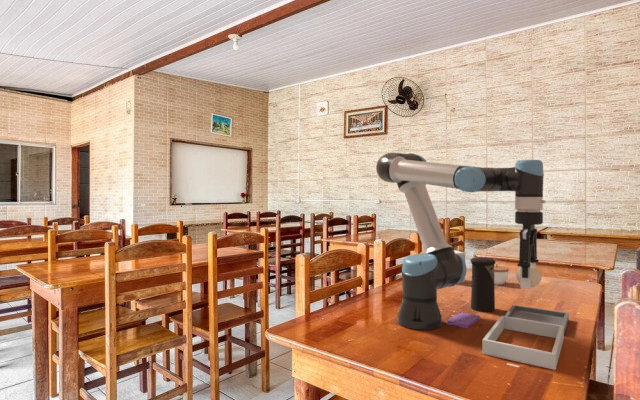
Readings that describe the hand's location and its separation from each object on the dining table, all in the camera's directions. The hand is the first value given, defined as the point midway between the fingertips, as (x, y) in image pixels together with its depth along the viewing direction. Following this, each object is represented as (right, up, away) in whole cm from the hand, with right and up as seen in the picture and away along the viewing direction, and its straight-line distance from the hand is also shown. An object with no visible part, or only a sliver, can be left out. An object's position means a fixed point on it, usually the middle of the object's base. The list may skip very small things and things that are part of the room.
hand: (528, 285), depth 123 cm
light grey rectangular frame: (-3, -17, -3) cm, 18 cm away
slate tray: (+12, -16, +17) cm, 26 cm away
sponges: (-13, -17, +19) cm, 28 cm away
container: (-1, -16, +33) cm, 37 cm away
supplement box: (+3, -15, +78) cm, 80 cm away
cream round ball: (0, -1, 0) cm, 1 cm away
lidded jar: (+23, -15, +73) cm, 78 cm away
